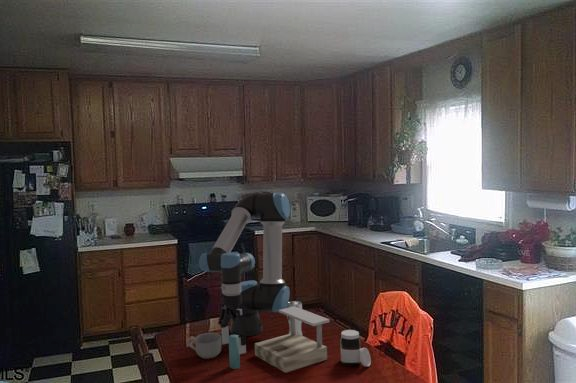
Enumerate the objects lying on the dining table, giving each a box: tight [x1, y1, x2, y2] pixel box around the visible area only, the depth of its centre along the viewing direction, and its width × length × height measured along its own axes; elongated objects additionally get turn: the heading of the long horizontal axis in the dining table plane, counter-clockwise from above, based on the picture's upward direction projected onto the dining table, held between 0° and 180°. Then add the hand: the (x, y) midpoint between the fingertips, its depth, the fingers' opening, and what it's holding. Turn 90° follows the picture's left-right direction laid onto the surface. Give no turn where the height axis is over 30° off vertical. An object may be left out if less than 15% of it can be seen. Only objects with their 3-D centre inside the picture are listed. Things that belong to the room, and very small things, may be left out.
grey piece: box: [278, 306, 330, 348], centre depth 203 cm, size 24×8×11 cm, turn 35°
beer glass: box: [286, 300, 303, 336], centre depth 224 cm, size 7×7×15 cm
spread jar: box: [339, 329, 372, 368], centre depth 191 cm, size 12×11×12 cm
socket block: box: [254, 333, 328, 373], centre depth 199 cm, size 22×20×5 cm
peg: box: [228, 334, 241, 370], centre depth 192 cm, size 4×4×12 cm
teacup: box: [187, 332, 222, 360], centre depth 204 cm, size 14×11×8 cm
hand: (233, 348), depth 191 cm, fingers open, 13 cm apart
